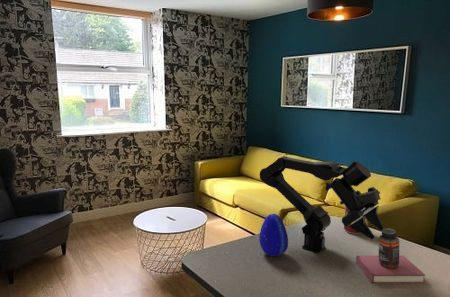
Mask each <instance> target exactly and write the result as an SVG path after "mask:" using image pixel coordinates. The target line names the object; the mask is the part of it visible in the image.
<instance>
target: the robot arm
mask: <svg viewBox="0 0 450 297" xmlns="http://www.w3.org/2000/svg"><path fill="white" fill-rule="evenodd" d="M286 169H288V170H291V171H297V172H302V173H306V174H311V175H313V176H314V177H315V178H317V179H320V180H322V181H325V182H326V181H327V182H326V183H325V191H329V190H332V191H333V193H335V195H336V196H337V197H338V198H339V200H340V202H339V204H340V205H344V207H345V206H346V208H347V209H348V210H349V212H348V214H347V215H346V216H345V215H344V216H342V218H341V223H342V224H343V227H344V226H345V227H346V226H348V225H349V224H351V225H349V226H348V227H349V228H352V229H354V230H356V231H358V232H360V233H359V234H361V235H364V236H365V237H367V238H369V239H371V240H373V239H375V235H374V233H373V232H372V230H371V229H370V227H369V225H368V224H367V222H366V220H367V221H368V222H369V223H371V224H372V225H373V226H375V227H376V228H377V229H378V230H380V231H382V230H383V229H385V228H384V226H383V222H382V220H381V218H380V216H379V213H378V211H379V207H380V206H379V204H380V202H379V201H380V200H381V196H380V194H381V192H380V191H379V190H378V189H376V188H375V187H374V186H372V187H371V186H370V187H368V188H367V191H365V192H363V193H361V191H360V190H355V188H354V187H359V186H360V185H361V184H363V183H364V182H366V181H367V180H368V179H369V178H371V177H372V175H371V172H370V170H369V168H368V167H367V166H365V165H364V164H362V163H361V162H359V160H354V161H353V162H352V163H351V164H350V165H349V166H348V167H343V166H340V165H338V163H337V162H335V161H310V160H304V159H298V158H294V157H288V156H281V157H278V158H277V159H276V160H275V161H274V162H271V164H270V165H268V166H267V167H264V168H262V169H261V170H260V172H259V180H261V182H263V183H264V184H265V185H266V186H268V187H271V188H273V189H275V190H277V192H279V193H280V195H282V196H283V197H284V198H285V199H286V200H287V201H288V202H289V203H290V204H292V206H293V207H294V208H295V209H296V210H297V211H298V212H299V213H301V215H302V216H303V219H304V223H306V224H305V225H304V226H303V227H302V228H301V232H302V234H304V236H303V237H304V240H303V245H302V246H301V248H302V249H304V250H308V251H311V252H314V253H320V252H321V251H322V250H324V248H326V245H325V243H326V238H325V237H326V236H325V233H324V231H325V230H326V229H327V228H329V227H330V225H331V220H332V219H331V216H330V215H329V212H328V211H327V210H325V209H324V208H323V206H321V205H320V204H319V205H318V206H314V205H312V204H311V203H310V202H309V201H308V200H306V199H305V198H304V196H302V195H301V194H300V192H298V191H297V190H296V189H295V188H294V187H293V186H291V185H290V184H289V182H287V181H286V179H285V177H284V174H283V172H284V171H285V170H286ZM341 176H342V177H341ZM339 177H340V178H339ZM332 179H333V180H332ZM330 180H332V181H330ZM353 186H354V187H353ZM363 214H364V215H363ZM362 216H363V217H362Z"/></svg>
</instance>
